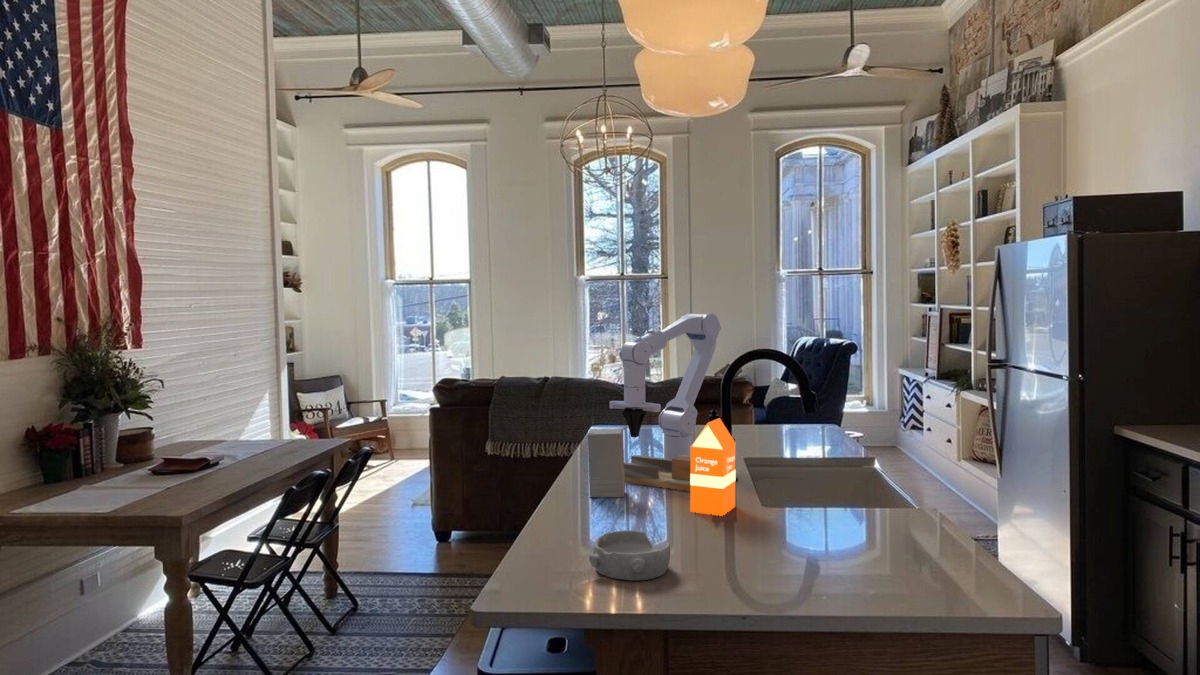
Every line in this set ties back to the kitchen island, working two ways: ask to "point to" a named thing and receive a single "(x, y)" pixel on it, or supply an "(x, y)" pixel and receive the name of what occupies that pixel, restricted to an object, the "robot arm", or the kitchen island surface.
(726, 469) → the orange juice
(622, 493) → the skincare box
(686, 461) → the walnut block
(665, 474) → the chute board
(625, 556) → the dish
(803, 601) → the kitchen island surface
